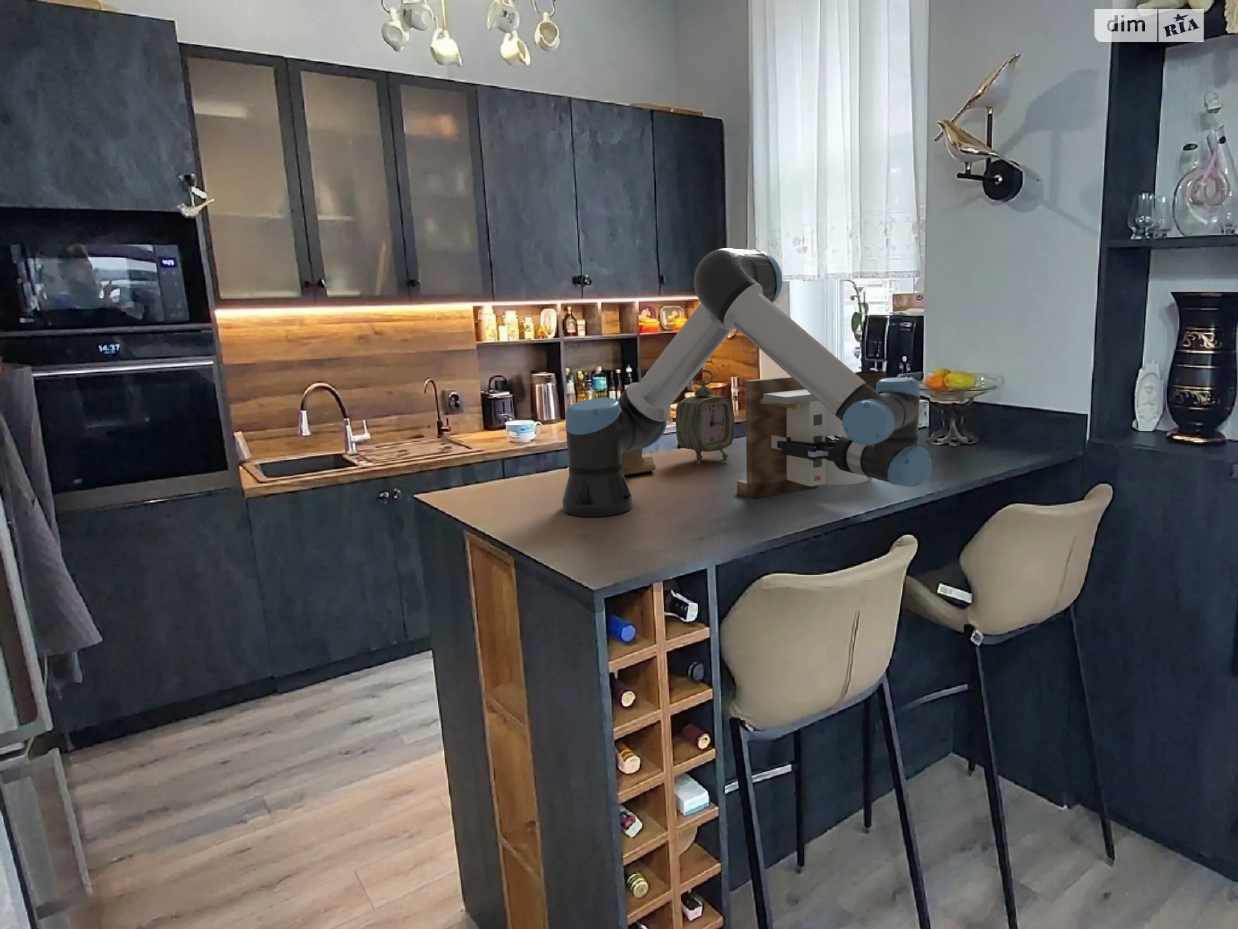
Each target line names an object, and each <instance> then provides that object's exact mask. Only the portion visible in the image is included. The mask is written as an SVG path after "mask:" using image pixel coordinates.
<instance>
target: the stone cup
mask: <svg viewBox="0 0 1238 929" xmlns="http://www.w3.org/2000/svg"><path fill="white" fill-rule="evenodd" d="M643 449H644V448H642V449H636V450H633V451H630V452H626V453H623V454H622V468H623V474H624V476H628V475H637V474H643V473H647V472H653V471H655V470H656V467H657V465H656V464H655V463H654V460H653V457H652V456H645V457H644V456H643Z"/></svg>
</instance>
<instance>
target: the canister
mask: <svg viewBox="0 0 1238 929" xmlns="http://www.w3.org/2000/svg"><path fill="white" fill-rule="evenodd" d="M836 434H838V435H842V436H844V435H846V433H845V431H844V429H843V424H842V421H841V420H840V419H839V418H838V417H837V416H835V415H834V414H833V413H832V412H831V411H830V410H829V409H828V408H826V419H825V437H826V435H831V436H833V437H834V435H836ZM867 481H870V480H869V479H867V476H863V475H859V474H855V473H850V472H846V471H842V470H840V469H839V468H838V467H837V466H836V465H835V463H834V462H833V461H828V460H826V459H825V484H822V485H824V486H849V485H858V484H864V483H865V482H867Z"/></svg>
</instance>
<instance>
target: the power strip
mask: <svg viewBox="0 0 1238 929" xmlns="http://www.w3.org/2000/svg"><path fill="white" fill-rule="evenodd" d="M763 401H768V402H774V403H780V404H794V403H801V408H799V409H792V408H787V437H791V439H792V441H800V442H811V443H815V442H818V441H825V419H826V407H825V406H824V405H823V404H822V403H821V402H820V401H818V400H817V399H816V398H815V397H814V396H813V395H812V394H810V393H809V392H808V391H807V390H806V389H803V390H794V391H784V392H775V393H765V394H763ZM821 446H822V445H821ZM787 480H790V481H793V482H796V483H800V484H803V485H806V486H816V485H818V486H821V485H823V484H825V459H819V458H816V461H812V460H809V459H806V458H800V457H795V456H789V455H787Z"/></svg>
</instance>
